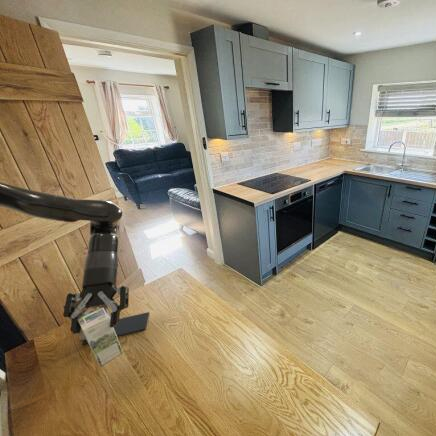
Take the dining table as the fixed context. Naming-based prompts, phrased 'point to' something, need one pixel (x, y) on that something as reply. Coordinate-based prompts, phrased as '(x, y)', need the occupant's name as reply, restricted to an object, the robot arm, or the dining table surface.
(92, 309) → the coffee box
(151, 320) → the dining table surface
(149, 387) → the dining table surface
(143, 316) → the dark gray mat
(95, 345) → the syrup box
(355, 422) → the dining table surface
